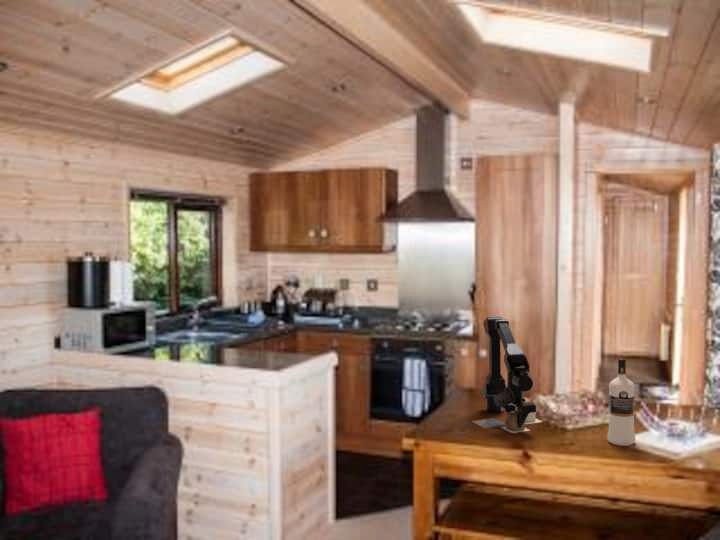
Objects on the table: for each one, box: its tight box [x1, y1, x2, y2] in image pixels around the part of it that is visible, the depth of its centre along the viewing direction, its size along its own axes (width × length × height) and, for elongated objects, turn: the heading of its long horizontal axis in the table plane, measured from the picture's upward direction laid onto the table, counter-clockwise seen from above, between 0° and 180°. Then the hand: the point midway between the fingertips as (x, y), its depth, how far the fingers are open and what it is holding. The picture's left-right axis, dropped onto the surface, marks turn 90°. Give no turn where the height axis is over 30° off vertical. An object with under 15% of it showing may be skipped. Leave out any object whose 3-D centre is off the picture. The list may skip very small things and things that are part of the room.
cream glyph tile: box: [500, 426, 531, 434], centre depth 252 cm, size 8×8×1 cm
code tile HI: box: [525, 418, 543, 425], centre depth 262 cm, size 8×8×1 cm
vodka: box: [606, 357, 636, 447], centre depth 234 cm, size 9×9×30 cm
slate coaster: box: [471, 417, 506, 429], centre depth 259 cm, size 10×10×1 cm
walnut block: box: [505, 411, 526, 431], centre depth 252 cm, size 5×5×6 cm
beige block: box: [525, 411, 537, 422], centre depth 262 cm, size 4×4×6 cm
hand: (515, 425), depth 252 cm, fingers open, 6 cm apart
